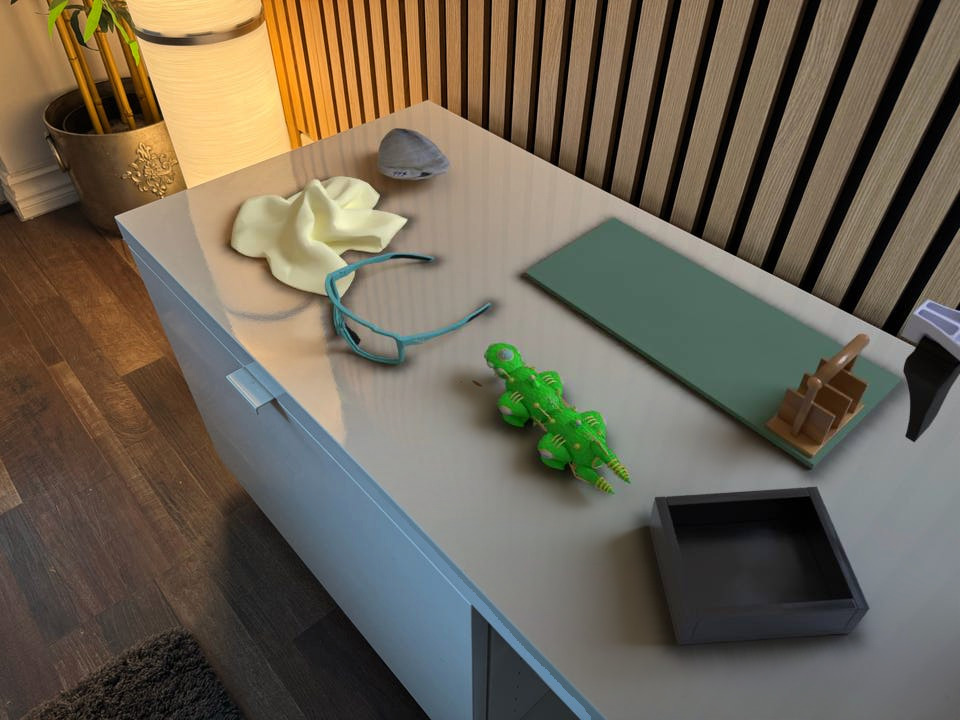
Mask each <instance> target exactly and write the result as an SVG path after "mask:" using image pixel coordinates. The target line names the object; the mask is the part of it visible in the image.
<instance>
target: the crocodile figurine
mask: <svg viewBox="0 0 960 720" xmlns="http://www.w3.org/2000/svg"><path fill="white" fill-rule="evenodd" d="M483 359H485V361H486V366H487V367H488V368H489V369H493V371H494V374H493V375H494V376H496V377H498V378H500V379H502V380H505V382H504V385H505V390H506V391H505V392H504V393H503V394H502V395H501V396H500V397H499V398H498V401H497V405H496V406H497V408H498V409H499V410H500V412H501V413H502V419H503V420H504V421H505V422H507V424H509V425H512V426H514V427H515V426H516V427H519V428H524V426H525V424H526V422H527V421H528V420H529V419H531V420H533V422H532V425H533V426H534V427H536V426H537V425H539V426H540V427H541V428H542V430H543V431H545V434H544V435H543V436H542V437H541V439H540V440H538V444H537V450H538V452H539V453H540V459H541V461H542V462H543V463H544V464H545V465H546V466H547V467H549V468H553V469H556V470H562V471H564V470H565V466H566V465H567V464H569V466H570V468H571V471H572V473H573V476H574V477H575V478H576V479H578V480H581V481H583V482H586V483H587V484H592V485H594V487H595V489H597V490H598V489H599V490H600V491H603V492H604V493H606V494H612V495H615V491H614V490H613V487H612V486H611V484H609V483H608V481H607V480H605V478H604V476H601V477H600V475H598V474H597V472H596V471H595V470H597V469H599V468H601V467H602V466H603V465H604V464H605V465H606V466H605V467H606V468H607V469H609V471H611V472H613V475H615V476H616V477H617V478H619V479H620V480H621V481H623V482H625V483H626V482H627V483H628V484H631V483H632V482H631V480H630V478H631V477H630V475H629V472H628V470H627V469H626V466H625V465H622V464H621V463H620V461H619V459H618V457H617V455H616V454H615V452H614V451H613V450H611V449H610V448H609V447H608V444H607V441H606V437H607V428H606V427H607V424H608V422H607V419H606V417H605V416H604V415H602V414H601V413H600V412H599V411H596V410H589V411H583V412H581V413H579V412H578V411H577V409H578V406H577V405H574V406H570V405H569V404H568V403H567V402H566V401H565V400H564V399H563V394H564V385H565V379H564V378H563V377H562V375H560V374H559V372H557V371H555V370H547V371H542V372H540V373H538V372H537V371H536V365H532V366H531V367H530V366H529V364H528V363H526V359H525V358H524V357H523V356H522V353H521V350H520V349H519V348H518V347H515V346H514V345H511V344H510V343H508V342H496V343H491V344H489V345H488V347H487V348H486V351H485V352H484V353H483ZM524 365H525V366H524ZM571 462H572V463H571Z"/></svg>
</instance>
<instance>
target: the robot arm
mask: <svg viewBox="0 0 960 720" xmlns="http://www.w3.org/2000/svg"><path fill="white" fill-rule="evenodd" d="M900 336H901V337H903V338H905V339H906V340H908V341H910V342H912V343H915V344H917V345H916V347H915V348H914V349H913V351H912V352H911V353H910V354H909V355H907V357H906V358H905V362H904V365H903V369H902V372H903V375H904V377H905V380H906V384H907V388H908V393H909V418H908V423H907V429H906V432H905V435H904V436H905V438H906V439H908V440H910V441H911V442H913V443H916V442H917V441H918V439H919V438H920V437H921V436H922V435H923V434H924V433H925V432H926V431H927V429H928V428H930V426H931V425H932V423H933V422H934V420H935V419H936V417H937V416H938V414H939V412H940V410H941V408H942V406H943V404H944V402H945V400H946V398H947V396H948V394H949V392H950V391H951V388H952V386H953V385H954V383H955V382H956V381H957V379H958V378H959V376H960V310H957V309H955V308H954V309H953V308H951V307H948V306H945V305H942V304H940V303H937V302H935V301H933V300H931V299H930V298H927V299H925V300H924V302H922V303H921V304H920V305H919V306H918V307H917V308H916V309H914V311H913V312H912V313H911V314H910V316H909V319H908V320H907V323H906V324H905V326H904V328H903V330H902V333H901V334H900Z"/></svg>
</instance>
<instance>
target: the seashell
mask: <svg viewBox="0 0 960 720" xmlns="http://www.w3.org/2000/svg"><path fill="white" fill-rule="evenodd" d="M379 143H380V144H379V146H378V147H379V148H378V152H377V154H378V156H377V164H376V169H377V170H378V171H379V172H380V173H381V174H383V175H384V176H387V177H389V178H391V179H392V178H393V179H396V180H397V179H398V180H408V181H409V180H410V181H419V180H420V181H421V180H426V179H430V178H433V177H436V176H440V175H443V174H446V173H447V172H448V171H449V170H451V165H450V163H451V162H450V160H449V159H448V157H447V156H446V155H445V154H444V153H443V152H442V150H441V149H440V148H439V146H437V145H436V144H435V143H434V142H433V141H432V140H431V139H429V138H428V137H427V136H424V135H423V134H422V133H420V132H418V131H416V130H412V129H409V128H400V127H395V128H392V129H390V130H389V131H388V132H387V133H385V135H384V136H383V137H382V139H381V141H380V142H379Z"/></svg>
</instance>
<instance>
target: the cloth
mask: <svg viewBox="0 0 960 720" xmlns="http://www.w3.org/2000/svg"><path fill="white" fill-rule="evenodd" d="M380 196H381V194H380V193H379V192H377V190H375V189H374V188H373V186H371V185H370V184H369V183H368V182H366V181H364V180H362V179H359V178H355V177H350V176H349V177H348V176H342V175H341V176H334V177H331V178H329V179H325V180H323V181H320V180H319V179H318V178H317V179H314V178H312V179H311V180H309V181H308V182H306V183H305V184H304V188H303V190H301V191H299V192H298V193H296V194H294V195H292V196H290V197H289V198H287V199H286V198H283V197H281V196H280V195H276V194H266V195H257V196H253V197H249V198H247V199H246V200H244V202H242V204H241V205H240V208H239V210H238V212H237V215H236V217H235V220H234V223H233V227H232V230H231V237H230V246H231V248H233V250H236V251H237V252H238V253H239V254H241V255H243V256H246V257H250V258H262V259H263V258H265V259H266V261H267V263H268V265H269V269H270V271H271V274H272V275H273V276H274V277H275V278H276V279H277V280H279V281H280V282H281V283H283V284H285V285H287V286H289V287H292V288H294V289H297V290H300V291H303V292H308V293H312V294H317V295H321V296H325V297H328V295H327V293H326V291H325V280H326V277H327V275H328V274H329V273H332V272H334V271H336V270H339V269H341V268H343V267H345V266H348V265H349V264H347V262H346V261H345V260H344V259H343V258H342V257H341V256H340V255H342V254H343V253H344V252H346V251H356V252H357V251H358V252H363V253H364V252H365V253H370V254H379V253H382V251H383V250H384V249H385V248H386V247H387V246H388V245H389V243H390V242H391V241H392V239H393V238H394V236H395V235H396V234H397V233H398V232H399V231H400V230H402V228H403V227H404V225H406V223H407V222H408V218H407V217H403V216H401V215H398V214H395V213H392V212H388V211H382V210H378V209H373V208H375V206H376V205H377V203H378V201H379V199H380ZM355 275H356V270H354V271H353V272H351V273H350V274H349V275H347V276H345V277H343V278H340V279H339V280H337V281H335V283H336V287H337V290H338V293H339V296H340V299H341V298H342V297H343V296H344V295H345V294H346V292H347V290H348V289H349V287H350V285H351V284H352V282H353V280H354V278H355ZM331 291H332V290H331Z"/></svg>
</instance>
